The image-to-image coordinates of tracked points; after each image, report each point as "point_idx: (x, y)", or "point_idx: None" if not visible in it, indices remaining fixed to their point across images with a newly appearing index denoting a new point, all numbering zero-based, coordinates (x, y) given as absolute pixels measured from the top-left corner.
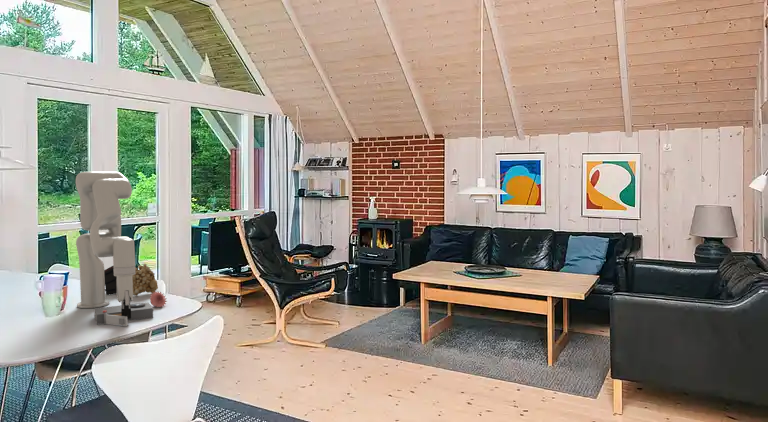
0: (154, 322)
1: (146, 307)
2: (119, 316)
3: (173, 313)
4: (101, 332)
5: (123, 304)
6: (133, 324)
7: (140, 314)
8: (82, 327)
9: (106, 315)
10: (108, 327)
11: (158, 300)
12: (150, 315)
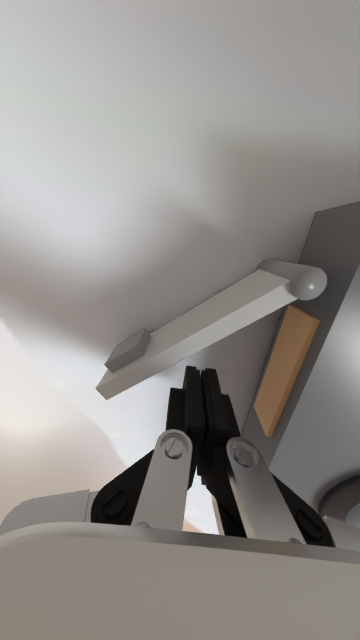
0: (131, 456)
1: None
2: (147, 360)
3: None
4: (49, 188)
5: (141, 497)
6: (151, 388)
7: None
8: (320, 67)
9: (278, 284)
10: (168, 264)
11: None
12: None
